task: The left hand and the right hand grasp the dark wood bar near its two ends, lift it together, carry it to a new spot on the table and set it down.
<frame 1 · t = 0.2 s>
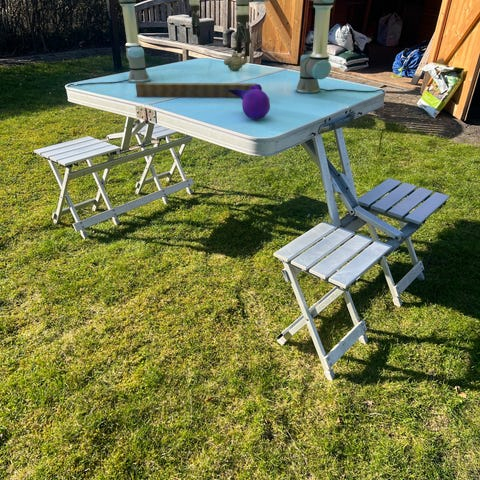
left hand: (196, 35, 349), 28 cm above the table, tool pointing down, fingers open, 13 cm apart
right hand: (243, 54, 263), 27 cm above the table, tool pointing down, fingers open, 13 cm apart
bar: (196, 96, 292), on the table
teapot: (235, 70, 370), on the table
toy: (250, 116, 247), on the table
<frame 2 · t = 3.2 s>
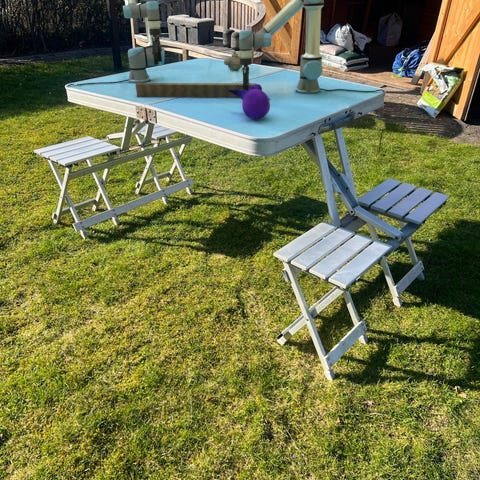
left hand: (158, 63, 301), 18 cm above the table, tool pointing down, fingers open, 13 cm apart
right hand: (246, 96, 288), 1 cm above the table, tool pointing down, fingers closed on bar, 6 cm apart
bar: (196, 96, 292), on the table, touching right hand
everything else where it was.
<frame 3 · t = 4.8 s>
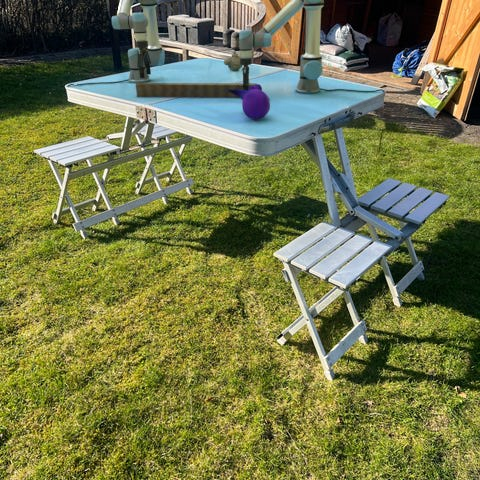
left hand: (145, 76, 289), 12 cm above the table, tool pointing down, fingers open, 13 cm apart
right hand: (246, 96, 288), 1 cm above the table, tool pointing down, fingers closed on bar, 6 cm apart
bar: (196, 96, 292), on the table, touching right hand
everything else where it was.
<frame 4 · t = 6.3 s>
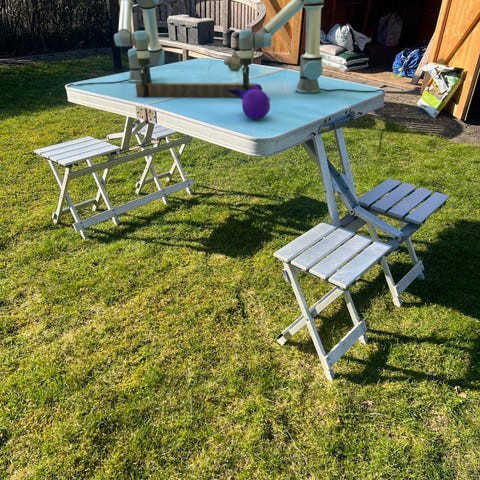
left hand: (148, 95, 296), 1 cm above the table, tool pointing down, fingers closed on bar, 6 cm apart
right hand: (246, 96, 288), 1 cm above the table, tool pointing down, fingers closed on bar, 6 cm apart
bar: (196, 96, 292), on the table, touching left hand, right hand
everything else where it was.
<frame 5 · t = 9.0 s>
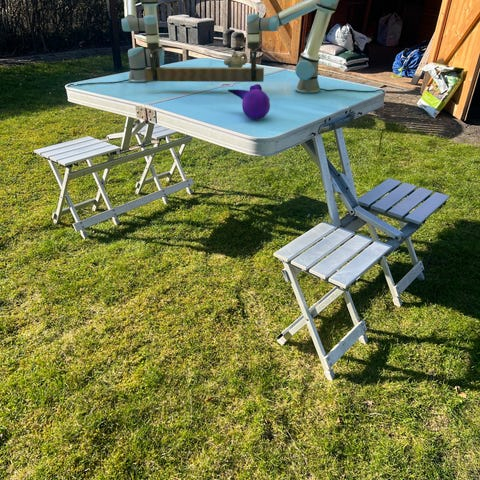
left hand: (156, 79, 300), 8 cm above the table, tool pointing down, fingers closed on bar, 6 cm apart
right hand: (253, 79, 293), 9 cm above the table, tool pointing down, fingers closed on bar, 6 cm apart
bar: (204, 80, 297), point 8 cm above the table, touching left hand, right hand
everything else where it was.
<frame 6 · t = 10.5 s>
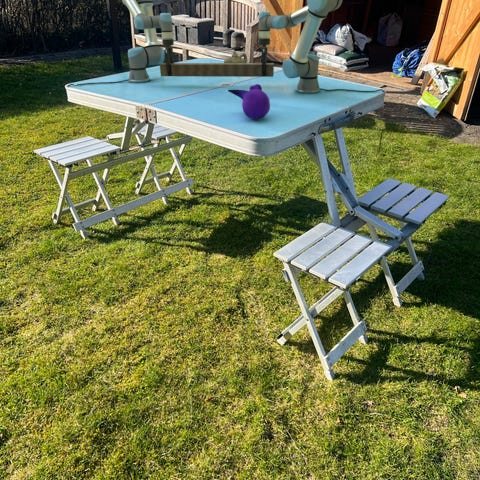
left hand: (170, 74, 313), 9 cm above the table, tool pointing down, fingers closed on bar, 6 cm apart
right hand: (264, 74, 306), 9 cm above the table, tool pointing down, fingers closed on bar, 6 cm apart
bar: (216, 75, 310), point 8 cm above the table, touching left hand, right hand
everything else where it was.
when the right hand's fingers open (2 cm above the table, at t = 11.6 s): bar drops 1 cm, on the table.
when the left hand's fingers open (2 cm above the table, at t = 11.7 s): bar stays where it is, on the table.
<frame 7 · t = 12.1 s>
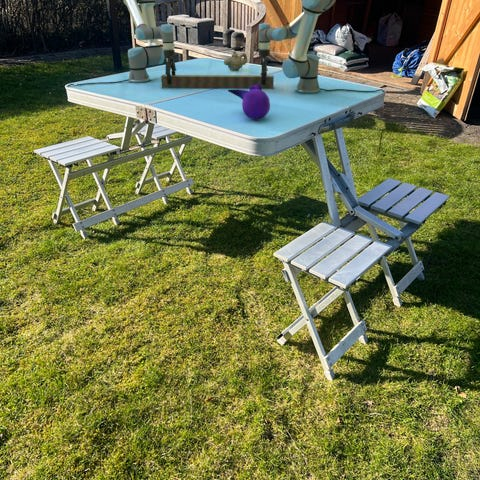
left hand: (171, 82, 316), 3 cm above the table, tool pointing down, fingers open, 12 cm apart
right hand: (264, 82, 309), 3 cm above the table, tool pointing down, fingers open, 12 cm apart
bar: (217, 87, 314), on the table
everything else where it was.
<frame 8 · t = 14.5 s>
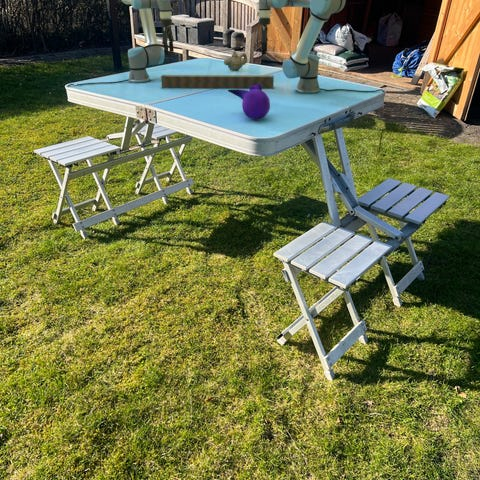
left hand: (169, 53, 306), 23 cm above the table, tool pointing down, fingers open, 13 cm apart
right hand: (264, 53, 299), 23 cm above the table, tool pointing down, fingers open, 13 cm apart
nothing on the table moved.
at the end: bar inside the target area (0.1 cm from its centre), on the table; bar tilted 0°; bar never tilted more than 1° during the clip; both hands held the bar at the same time; the left hand is holding nothing; the right hand is holding nothing; bar at rest at the end (0.0 cm/s) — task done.
